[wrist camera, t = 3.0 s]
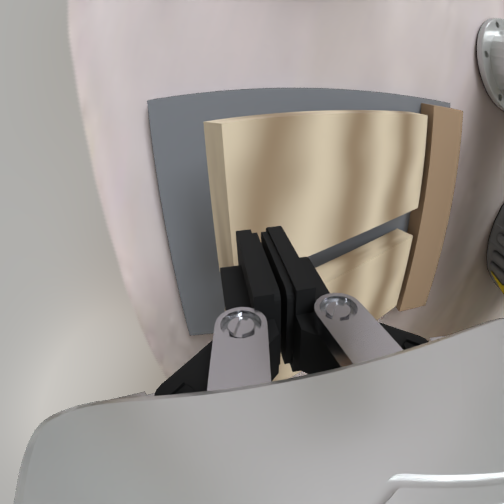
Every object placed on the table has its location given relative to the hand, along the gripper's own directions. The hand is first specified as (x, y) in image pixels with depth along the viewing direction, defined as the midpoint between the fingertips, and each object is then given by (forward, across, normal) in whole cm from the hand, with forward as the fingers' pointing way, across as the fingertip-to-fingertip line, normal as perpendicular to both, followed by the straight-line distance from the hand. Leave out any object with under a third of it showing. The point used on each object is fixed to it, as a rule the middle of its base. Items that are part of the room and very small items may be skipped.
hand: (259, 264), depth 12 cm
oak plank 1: (+11, -8, 0) cm, 13 cm away
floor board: (+16, -8, +6) cm, 19 cm away
